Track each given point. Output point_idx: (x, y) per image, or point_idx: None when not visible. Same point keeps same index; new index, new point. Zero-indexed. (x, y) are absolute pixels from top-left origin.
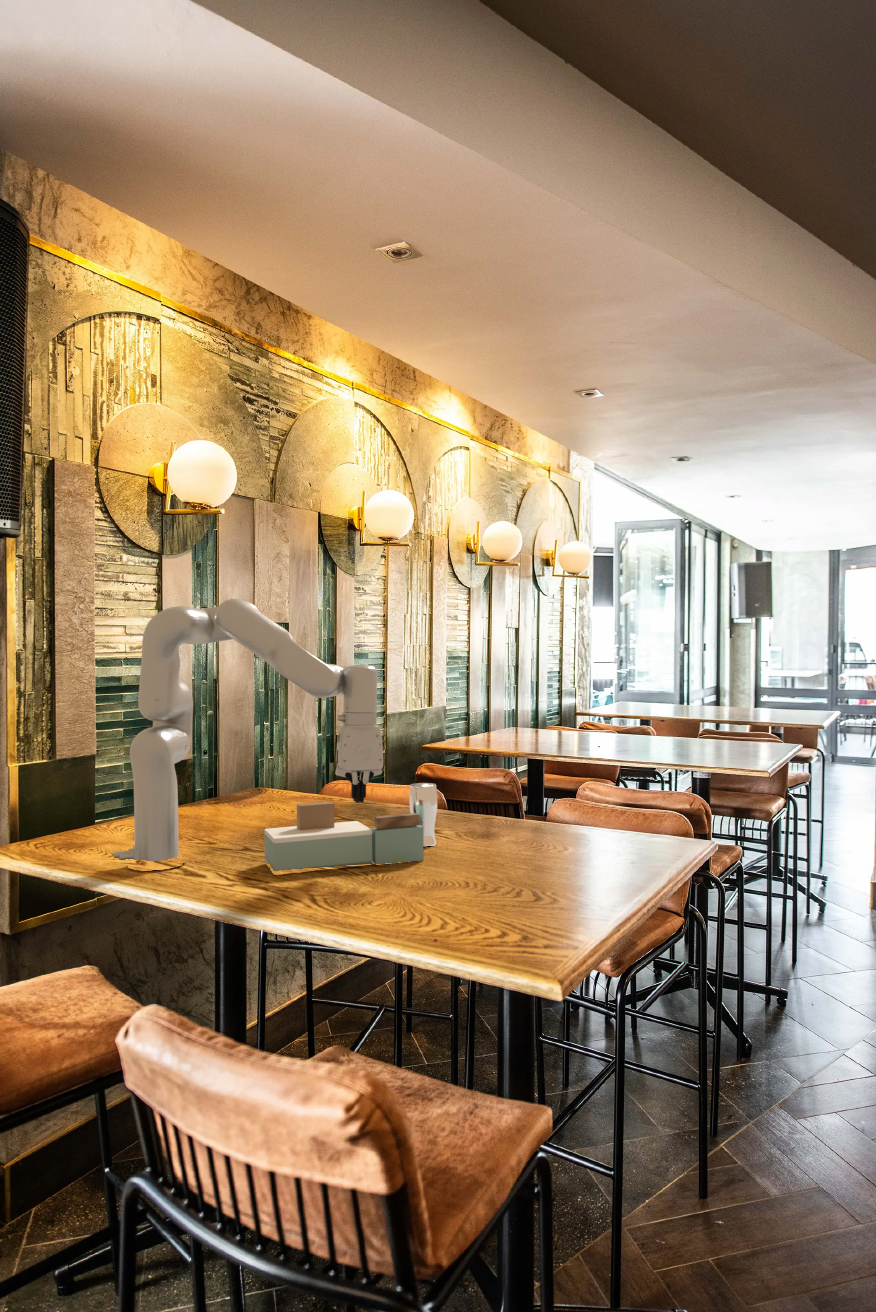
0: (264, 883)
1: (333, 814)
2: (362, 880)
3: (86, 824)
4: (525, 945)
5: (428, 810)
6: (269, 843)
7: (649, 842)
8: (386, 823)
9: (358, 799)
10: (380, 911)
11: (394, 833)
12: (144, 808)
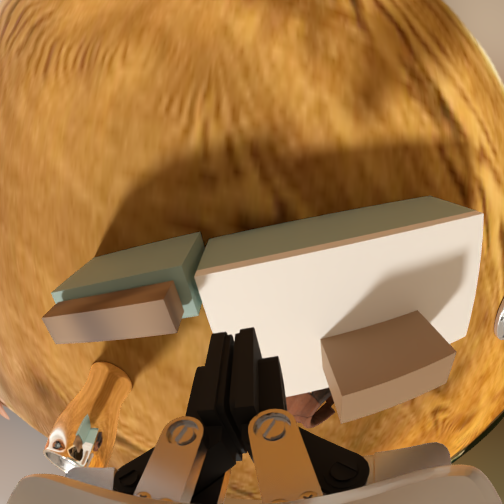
0: (445, 142)
1: (333, 366)
2: (245, 92)
3: (472, 442)
4: None
5: (69, 410)
6: None
7: None
8: (137, 294)
9: (244, 334)
10: None
11: (124, 272)
12: None
